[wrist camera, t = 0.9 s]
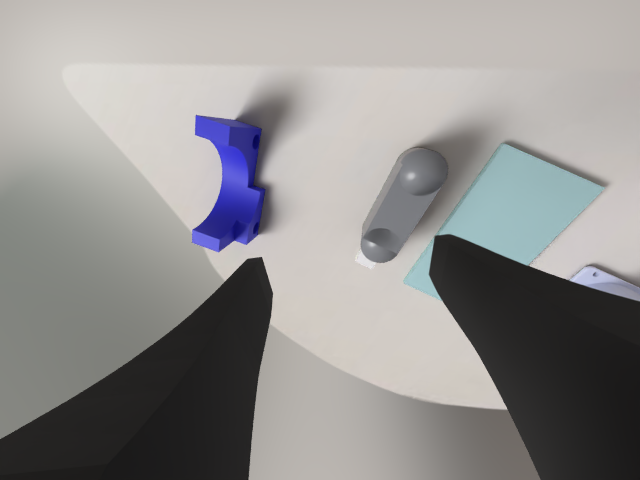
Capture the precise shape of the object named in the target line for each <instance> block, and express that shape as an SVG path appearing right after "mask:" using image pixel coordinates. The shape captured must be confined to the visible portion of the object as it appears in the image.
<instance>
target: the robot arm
mask: <svg viewBox="0 0 640 480" xmlns="http://www.w3.org/2000/svg"><path fill="white" fill-rule="evenodd" d="M595 272H596V273H595ZM593 273H595V274H593ZM429 276H430V279H431V281H432V283H433V285H434V287H435V289H436V291H437V293H438V295H439V296H440V298H441V299H442V301H443V302H444V304H445V305H446V307H447V308H448V310H449V311H450V313H451V314H452V316H453V317H454V319H455V320H456V322H457V323H458V325H459V326H460V327H461V329H462V330H463V332H464V333H465V335H466V336H467V338H468V339H469V341H470V342H471V344H472V345H473V347H474V348H475V350H476V351H477V353H478V355H479V356H480V358H481V360H482V362H483V364H484V365H485V367H486V369H487V371H488V373H489V375H490V376H491V378H492V380H493V382H494V384H495V386H496V388H497V389H498V391H499V393H500V395H501V397H502V399H503V401H504V403H505V405H506V407H507V409H508V411H509V413H510V415H511V417H512V419H513V421H514V423H515V425H516V427H517V429H518V431H519V433H520V435H521V437H522V440H523V442H524V444H525V446H526V448H527V450H528V452H529V454H530V457H531V459H532V461H533V463H534V466H535V468H536V470H537V472H538V475H539V477H540V479H541V480H640V287H637V286H635V285H633V284H631V283H629V282H626V281H624V280H622V279H620V278H618V277H615V276H613V275H611V274H609V273H606V272H604V271H602V270H600V269H598V268H595V267H593V266H587V267H585V268H583V269H582V270H581V271H580V272H578V273H577V274H576V275H575V276H574V277H573V278H572V279H570V280H566V279H563V278H560V277H557V276H554V275H551V274H548V273H546V272H543V271H540V270H538V269H535V268H532V267H530V266H527V265H525V264H522V263H520V262H517V261H515V260H512V259H510V258H507V257H505V256H502V255H500V254H498V253H495V252H493V251H491V250H488V249H486V248H484V247H482V246H479V245H477V244H475V243H472V242H470V241H467V240H465V239H463V238H460V237H458V236H455V235H452V234H445V235H436V236H435V238H434V244H433V250H432V256H431V262H430V269H429ZM272 298H273V292H272V289H271V285H270V282H269V279H268V275H267V272H266V269H265V266H264V262H263V259H262V257H258V258H250V259H247V260H246V261H245V262H244V263H243V264H242V265H241V266H240V267H239V268H238V269H237V270H236V271H235V272H234V273H233V274H232V275H231V276H230V277H229V278H228V279H227V280H226V281H225V282H224V283H223V284H222V285H221V287H220V288H218V289H217V290H216V291H215V293H213V294H212V295H211V296H210V297H209V298H208V299H207V300H206V301H205V302H204V303H203V304H202V305H201V306H200V307H199V308H197V309H196V310H195V311H194V312H193V313H192V314H191V315H190V316H189V317H187V318H186V319H185V320H184V321H183V322H181V323H180V324H179V325H178V326H177V327H175V328H174V329H173V330H172V331H170V332H169V333H168V334H166V335H165V336H164V337H162V338H161V339H160V340H158V341H157V342H156V343H154V344H153V345H151V346H150V347H149V348H147V349H146V350H145V351H143V352H142V353H140V354H139V355H138V356H136V357H135V358H133V359H132V360H131V361H129V362H128V363H126V364H125V365H123V366H122V367H120V368H119V369H117V370H116V371H114V372H113V373H111V374H110V375H108V376H107V377H105V378H103V379H102V380H100V381H99V382H97V383H96V384H94V385H92V386H91V387H89V388H88V389H86V390H84V391H83V392H81V393H79V394H78V395H76V396H75V397H73V398H71V399H70V400H68V401H67V402H65V403H63V404H61V405H59V406H58V407H56V408H54V409H52V410H51V411H49V412H47V413H45V414H44V415H42V416H40V417H38V418H37V419H35V420H33V421H32V422H30V423H28V424H26V425H25V426H23V427H21V428H19V429H18V430H16V431H14V432H12V433H11V434H9V435H7V436H5V437H4V438H2V439H0V480H248V477H249V466H250V453H251V440H252V430H253V420H254V409H255V401H256V392H257V383H258V376H259V371H260V365H261V361H262V356H263V351H264V347H265V342H266V337H267V333H268V328H269V323H270V318H271V311H272Z"/></svg>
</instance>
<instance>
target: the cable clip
mask: <svg viewBox="0 0 640 480" xmlns="http://www.w3.org/2000/svg"><path fill="white" fill-rule="evenodd" d="M195 135H197V136H200V137H203V138H206V139H209V140H210V141H211V142H212V143H213V144H214V145H215V147H216V148H217V150H218V152H219V155H220V158H221V163H222V184H221V190H220V193H219V196H218V199H217V202H216V204H215V206H214V208H213V210H212V211H211V213H210V214H209V216H208V217H207V218H206V219H205V220H204V221H203V222H202V223H201V224H200V225H199V226H198V227H196V228H195V229H193V230H192V242H193V243H195V244H198V245H200V246H203V247H206V248H208V249H211V250H214V251H217V252H220V251H221V250H222V249H224V248H225V247H226V246H228V245H229V244H230V243H232V242H233V241H237V242H240V243H243V244H245V245H247V244H248V243H249V242H250V241H251V240H253V239H254V238H255V237H256V236H257V235H258V229H259V223H260V218H261V212H262V206H263V200H264V195H265V189H262V188H259V187H257V186H254V185H253V183H254V176H255V169H256V163H257V156H258V149H259V142H260V136H261V128H258V127H255V126H252V125H248V124H245V123H242V122H239V121H236V120H231V119H223V118H215V117H207V116H198V115H196V123H195Z"/></svg>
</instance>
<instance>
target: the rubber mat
mask: <svg viewBox="0 0 640 480" xmlns="http://www.w3.org/2000/svg"><path fill="white" fill-rule="evenodd" d="M604 189H605V188H604V187H602V186H600V185H597V184H595V183H593V182H590V181H588V180H586V179H584V178H581V177H579V176H577V175H575V174H572V173H570V172H568V171H566V170H563V169H561V168H559V167H557V166H554V165H552V164H550V163H548V162H545V161H543V160H541V159H538V158H536V157H534V156H532V155H529V154H527V153H525V152H523V151H520V150H518V149H516V148H514V147H511V146H509V145H507V144H502V143H501V145H500V146H499V147H498V149H497V150H496V152H495V153H494V154H493V156H492V157H491V159H490V160H489V161H488V163H487V164H486V166H485V167H484V168H483V170H482V171H481V173H480V174H479V175H478V177H477V178H476V180H475V181H474V182H473V184H472V185H471V187H470V188H469V189H468V191H467V192H466V194H465V195H464V196H463V198H462V199H461V201H460V202H459V203H458V205H457V206H456V207H455V209H454V210H453V212H452V213H451V214H450V216H449V217H448V219H447V220H446V221H445V223H444V224H443V226H442V227H441V228H440V230H439V231H438V233H437V234H436V235H445V234H452V235H455V236H458V237H460V238H463V239H465V240H467V241H470V242H472V243H475V244H477V245H479V246H482V247H484V248H486V249H488V250H491V251H493V252H495V253H498V254H500V255H502V256H505V257H507V258H510V259H512V260H515V261H517V262H520V263H522V264H525V265H528V264H529V263H530V262H531V261H532V260H533V259H534V258H535V257H536V256H537V255H538V254H539V253H540V252H541V251H542V250H543V249H544V248H545V247H546V246H547V245H548V244H549V243H550V242H551V241H552V240H553V239H554V238H555V237H556V236H557V235H558V234H559V233H560V232H561V231H562V230H563V229H565V228H566V227H567V226H568V225H569V224H570V223H571V222H572V221H573V220H574V219H575V218H576V217H577V216H578V215H579V214H580V213H581V212H582V211H583V210H584V209H585V208H586V207H587V206H588V205H589V204H590V203H591V202H592V201H593V200H594V199H595V198H596V197H597V196H598V195H599V194H600V193H601V192H602V191H603V190H604ZM436 235H435V236H436ZM434 238H435V237H434ZM434 238H433V240H432V241H431V242H430V244H429V245H428V247H427V248H426V249H425V251H424V252H423V254H422V255H421V256H420V258H419V259H418V261H417V262H416V263H415V265H414V266H413V268H412V269H411V270H410V272H409V273H408V275H407V276H406V277H405V279H404V280H403V281H404V284H406V285H409V286H411V287H413V288H415V289H417V290H419V291H422V292H424V293H426V294H428V295H430V296H432V297H435V298H437V299H439V300H441V301H442V299H441V298H440V296H439V295H438V293H437V291H436V289H435V287H434V285H433V283H432V281H431V279H430V276H429V269H430V262H431V256H432V250H433V244H434Z"/></svg>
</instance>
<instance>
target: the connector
mask: <svg viewBox="0 0 640 480" xmlns="http://www.w3.org/2000/svg"><path fill="white" fill-rule="evenodd" d="M447 175H448V165H447V162H446V160H445V158H444V157H443V156H442V155H441V154H440V153H438V152H436V151H433V150H428V149H424V148H418V147H416V148H411V149H408V150H406V151H405V152H403V153H402V154H401V155H400V156H399V158H398V159H397V161H396V163H395V165H394V167H393V169H392V170H391V172H390V174H389V176H388V178H387V180H386V182H385V184H384V186H383V187H382V189H381V191H380V193H379V195H378V197H377V199H376V201H375V203H374V204H373V206H372V208H371V210H370V212H369V214H368V216H367V218H366V220H365V221H364V224H363V228H362V238H361V249H360V250H359V252H358V254H357V256H356V258H355V262H357V263H359V264H361V265H363V266H366V267H368V268H370V269H373V267H374V266H375V264H376V263H384V262H388V261H390V260H392V259H393V258H395V257H396V255H397V254H398V253H399V251H400V250H401V248H402V247H403V245H404V243H405V242H406V240H407V239H408V237H409V236H410V234H411V233H412V231H413V230H414V228H415V227H416V225H417V224H418V222H419V221H420V219H421V217H422V216H423V214H424V213H425V211H426V210H427V208H428V207H429V205H430V204H431V202H432V201H433V199H434V198H435V196H436V195H437V193H438V191H439V190H440V188H441V187H442V185H443V184H444V182H445V180H446V178H447Z"/></svg>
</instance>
